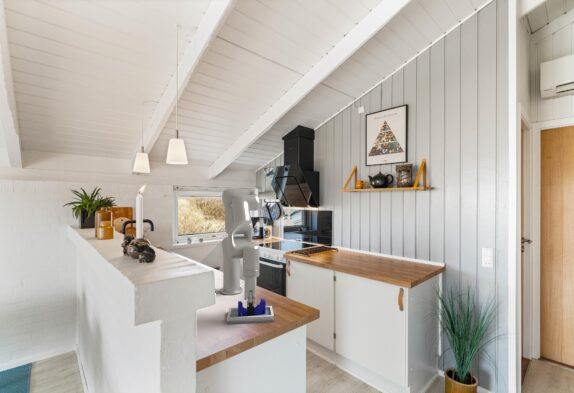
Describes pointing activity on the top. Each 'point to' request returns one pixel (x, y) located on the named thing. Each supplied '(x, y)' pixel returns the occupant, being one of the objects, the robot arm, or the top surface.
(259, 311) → the blue long irregular block
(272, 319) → the shallow rectangular tray
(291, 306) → the top surface
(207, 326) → the top surface
